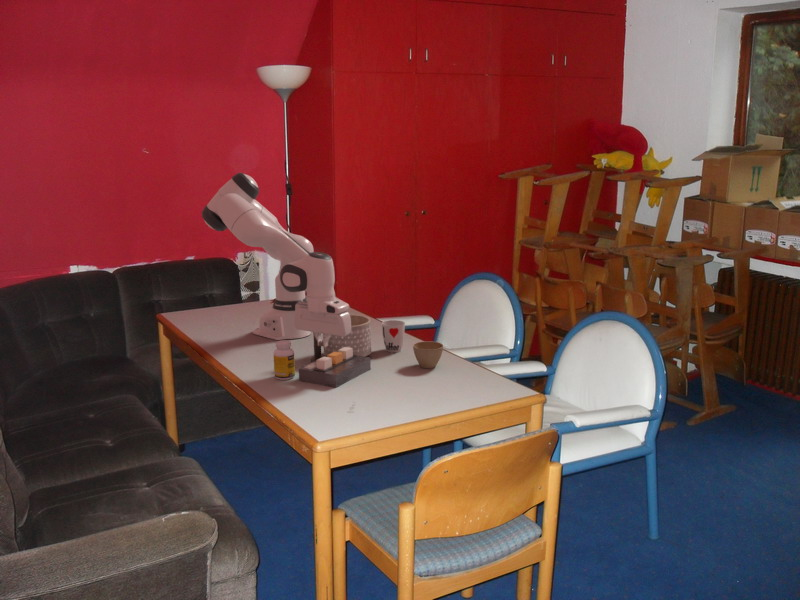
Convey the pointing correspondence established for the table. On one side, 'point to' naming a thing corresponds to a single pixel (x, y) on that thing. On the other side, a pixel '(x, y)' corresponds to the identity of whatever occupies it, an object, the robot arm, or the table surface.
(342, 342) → the planter
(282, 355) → the pill bottle
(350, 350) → the pale pink brick
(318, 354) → the post
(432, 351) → the flower pot
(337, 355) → the orange block
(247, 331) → the table surface
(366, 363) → the dark grey slotted tray
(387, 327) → the cup
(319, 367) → the light pink block
